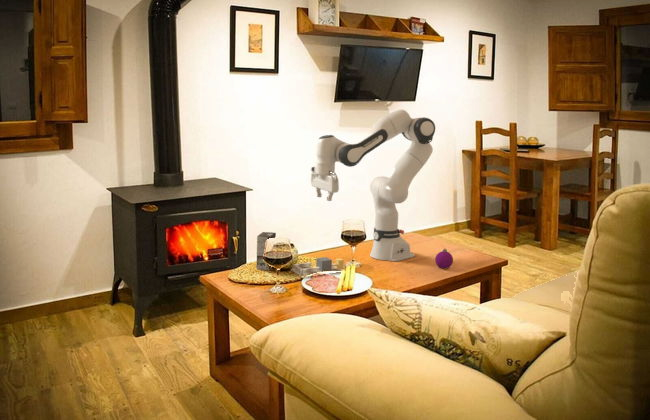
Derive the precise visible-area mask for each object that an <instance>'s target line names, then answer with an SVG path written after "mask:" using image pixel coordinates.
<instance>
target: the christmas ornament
mask: <svg viewBox="0 0 650 420" xmlns="http://www.w3.org/2000/svg"><path fill="white" fill-rule="evenodd" d="M434 260H435V264H436V266H438V268H440V269H443V268H446V269H449V268H450V267H451V266H452V265H453V262H454V258H453V255H452V254H451V253H450V252H449V251H448V249H447V248H446V247H444V248H443V250H442V251H439V252H438V253H437V254H436V256H435V259H434Z"/></svg>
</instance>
